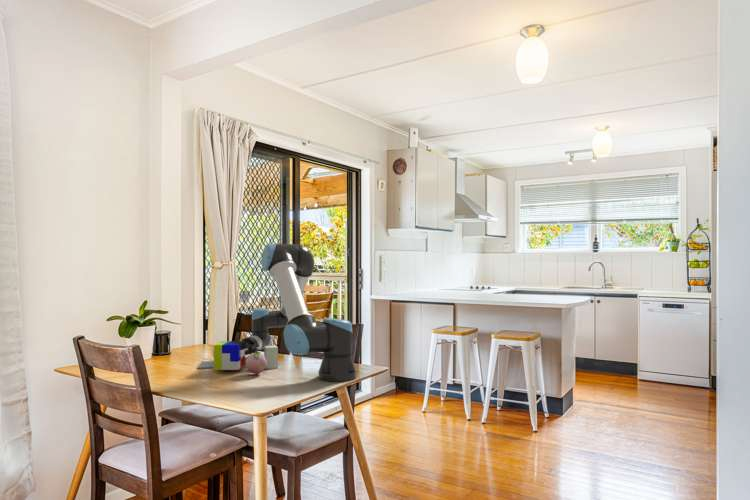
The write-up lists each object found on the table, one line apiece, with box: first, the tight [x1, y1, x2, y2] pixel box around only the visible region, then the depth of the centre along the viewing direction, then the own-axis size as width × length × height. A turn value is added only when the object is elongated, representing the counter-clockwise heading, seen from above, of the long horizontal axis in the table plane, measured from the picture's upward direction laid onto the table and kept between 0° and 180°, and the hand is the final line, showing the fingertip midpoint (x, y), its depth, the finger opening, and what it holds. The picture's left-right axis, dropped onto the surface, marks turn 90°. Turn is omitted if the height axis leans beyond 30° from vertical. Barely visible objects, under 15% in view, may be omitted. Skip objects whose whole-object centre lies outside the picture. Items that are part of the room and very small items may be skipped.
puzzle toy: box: [213, 340, 246, 371], centre depth 213 cm, size 10×10×10 cm
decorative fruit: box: [245, 350, 267, 376], centre depth 206 cm, size 9×8×10 cm
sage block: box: [263, 344, 279, 370], centre depth 220 cm, size 5×5×9 cm
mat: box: [197, 360, 214, 370], centre depth 224 cm, size 13×13×1 cm
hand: (226, 353), depth 211 cm, fingers closed on puzzle toy, 11 cm apart
